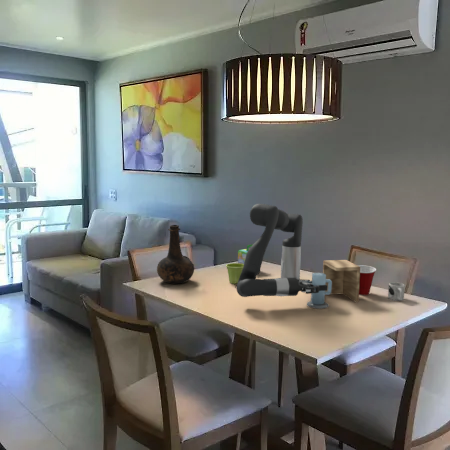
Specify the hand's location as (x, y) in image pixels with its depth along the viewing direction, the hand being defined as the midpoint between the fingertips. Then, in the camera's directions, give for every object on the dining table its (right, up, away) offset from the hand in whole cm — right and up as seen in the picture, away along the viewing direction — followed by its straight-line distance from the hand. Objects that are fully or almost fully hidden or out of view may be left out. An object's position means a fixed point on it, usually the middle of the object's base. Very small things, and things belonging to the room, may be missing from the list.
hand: (324, 285), depth 207 cm
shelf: (+9, -7, +12) cm, 17 cm away
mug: (+34, -8, +10) cm, 36 cm away
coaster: (-3, -8, +1) cm, 9 cm away
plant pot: (-36, -3, +36) cm, 51 cm away
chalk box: (-28, 0, +60) cm, 66 cm away
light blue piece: (-1, -7, +1) cm, 7 cm away
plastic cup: (+21, -6, +19) cm, 30 cm away
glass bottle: (-66, -3, +36) cm, 75 cm away
